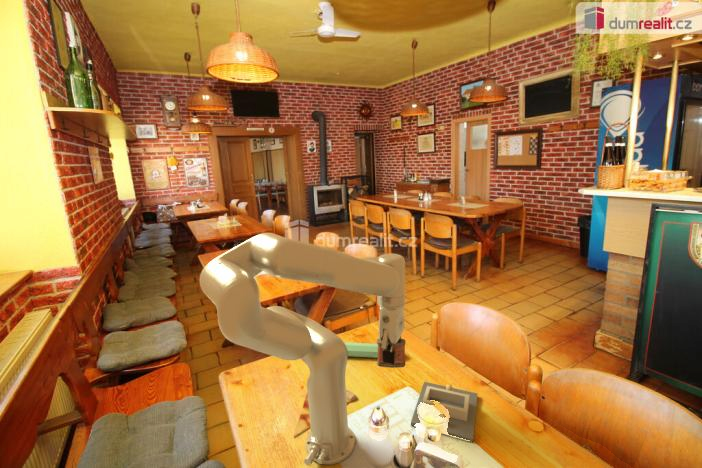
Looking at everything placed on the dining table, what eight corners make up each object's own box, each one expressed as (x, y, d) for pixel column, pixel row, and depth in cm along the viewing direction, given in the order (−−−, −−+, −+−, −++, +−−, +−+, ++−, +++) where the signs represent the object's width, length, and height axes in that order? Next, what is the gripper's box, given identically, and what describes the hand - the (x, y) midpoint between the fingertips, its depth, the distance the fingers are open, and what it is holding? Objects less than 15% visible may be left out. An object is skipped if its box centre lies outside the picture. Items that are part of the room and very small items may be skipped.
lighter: (404, 361, 100) (405, 330, 98) (405, 368, 97) (405, 336, 95) (377, 360, 101) (377, 329, 99) (377, 367, 98) (376, 335, 96)
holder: (472, 442, 87) (473, 429, 86) (410, 426, 94) (410, 412, 93) (477, 396, 103) (478, 384, 102) (424, 384, 110) (424, 373, 109)
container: (400, 340, 125) (333, 337, 129) (401, 354, 120) (330, 350, 124) (400, 350, 129) (335, 346, 132) (400, 364, 124) (332, 360, 127)
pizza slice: (267, 408, 103) (266, 402, 103) (326, 376, 117) (326, 370, 117) (294, 439, 92) (293, 433, 91) (356, 399, 105) (356, 393, 105)
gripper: (395, 313, 86) (395, 378, 90) (411, 289, 101) (410, 345, 105) (367, 309, 89) (368, 371, 93) (386, 286, 104) (387, 341, 108)
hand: (391, 357), depth 99 cm, fingers closed on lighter, 4 cm apart
